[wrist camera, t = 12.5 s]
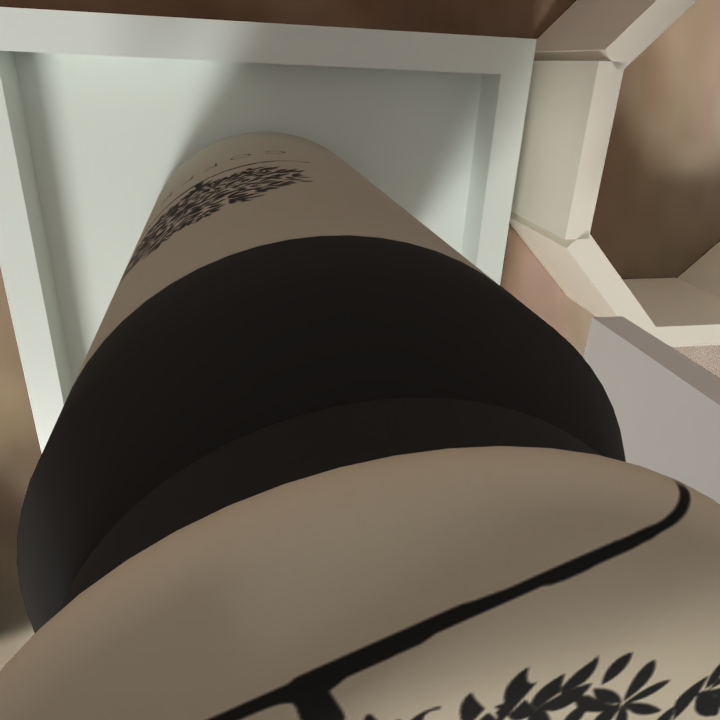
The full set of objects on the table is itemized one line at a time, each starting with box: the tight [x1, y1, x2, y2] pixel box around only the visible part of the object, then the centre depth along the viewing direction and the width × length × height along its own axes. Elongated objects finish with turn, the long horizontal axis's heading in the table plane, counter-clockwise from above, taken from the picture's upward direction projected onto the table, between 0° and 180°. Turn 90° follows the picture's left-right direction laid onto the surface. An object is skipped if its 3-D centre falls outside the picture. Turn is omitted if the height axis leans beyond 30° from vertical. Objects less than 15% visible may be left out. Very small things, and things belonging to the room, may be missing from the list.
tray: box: [0, 7, 537, 453], centre depth 21 cm, size 16×14×2 cm
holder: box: [509, 0, 720, 347], centre depth 21 cm, size 13×13×5 cm
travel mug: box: [0, 132, 720, 720], centre depth 13 cm, size 8×8×18 cm
